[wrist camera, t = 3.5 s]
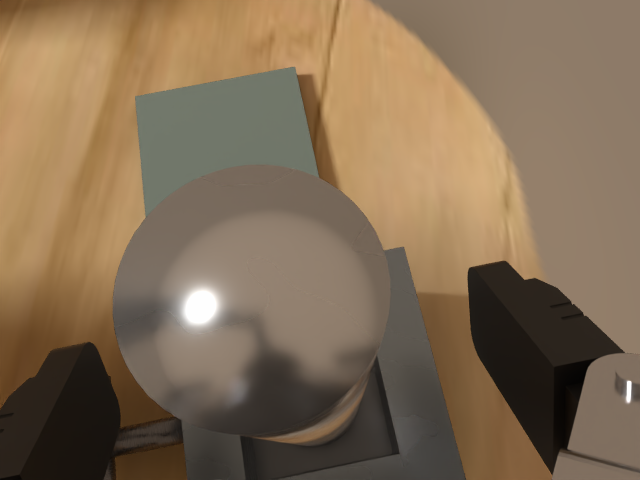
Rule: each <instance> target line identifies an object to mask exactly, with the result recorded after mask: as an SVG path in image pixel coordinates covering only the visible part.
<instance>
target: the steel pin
mask: <svg viewBox="0 0 640 480" xmlns="http://www.w3.org/2000/svg"><path fill="white" fill-rule="evenodd" d="M390 297H391V291H390V275H389V270H388V264H387V260H386V256H385V253H384V250H383V247H382V244H381V242H380V240H379V238H378V236H377V234H376V232H375V230H374V228H373V227H372V225H371V224H370V222H369V221H368V219H367V217H366V216H365V215H364V213H363V212H362V211H361V210H360V209H359V208H358V207H357V205H356V204H355V203H354V202H353V201H352V200H350V199H349V198H348V197H347V196H346V195H345V194H344V193H342V192H341V191H340V190H338V189H337V188H335V187H334V186H332V185H331V184H329V183H328V182H326V181H324V180H322V179H320V178H318V177H316V176H314V175H311V174H309V173H306V172H303V171H300V170H297V169H292V168H288V167H284V166H276V165H266V164H262V165H243V166H235V167H230V168H226V169H222V170H218V171H215V172H212V173H209V174H207V175H204V176H201V177H199V178H197V179H195V180H193V181H191V182H189V183H187V184H185V185H184V186H182V187H181V188H179V189H178V190H176V191H175V192H173V193H172V194H170V195H169V196H168V197H167V198H166V199H164V200H163V201H162V202H161V203H160V204H158V205H157V206H156V207H155V208H154V210H153V211H152V212H151V213H150V214H149V215H148V216H147V217H146V218H145V219H144V221H143V222H142V224H141V225H140V226H139V228H138V229H137V230H136V232H135V233H134V235H133V237H132V239H131V240H130V242H129V244H128V246H127V248H126V250H125V252H124V255H123V257H122V260H121V262H120V265H119V269H118V272H117V276H116V280H115V286H114V293H113V320H114V328H115V334H116V338H117V341H118V345H119V349H120V351H121V354H122V356H123V358H124V361H125V363H126V365H127V367H128V369H129V370H130V372H131V374H132V375H133V377H134V378H135V380H136V382H137V383H138V384H139V385H140V386H141V388H142V389H143V390H144V391H145V392H146V394H147V395H148V396H149V397H150V398H152V399H153V400H154V401H155V402H156V403H157V404H158V405H159V406H161V407H162V408H163V409H165V410H166V411H168V412H169V413H171V414H172V415H174V416H175V417H177V418H179V419H181V420H183V421H185V422H187V423H189V424H192V425H194V426H196V427H200V428H203V429H206V430H210V431H213V432H219V433H225V434H232V435H238V436H245V437H251V438H258V439H264V440H270V441H277V442H283V443H290V444H296V445H303V446H310V447H317V446H323V445H326V444H329V443H332V442H334V441H335V440H337V439H339V438H340V437H341V436H342V435H344V434H345V433H346V432H347V430H348V429H349V428H350V426H351V425H352V423H353V421H354V419H355V417H356V414H357V411H358V409H359V406H360V403H361V400H362V397H363V394H364V391H365V388H366V385H367V382H368V379H369V376H370V373H371V370H372V368H373V365H374V362H375V359H376V356H377V353H378V350H379V347H380V344H381V341H382V338H383V335H384V332H385V329H386V324H387V320H388V316H389V308H390Z"/></svg>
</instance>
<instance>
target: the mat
mask: <svg viewBox="0 0 640 480" xmlns="http://www.w3.org/2000/svg"><path fill="white" fill-rule="evenodd" d="M135 101H136V112H137V123H138V135H139V146H140V158H141V169H142V180H143V192H144V203H145V215H146V217H147V216H148V215H149V214H150V213H151V212H152V211H153V210H154V208H155V207H156V206H157V205H158V204H160V203H161V202H162V201H163V200H164V199H166V198H167V197H168V196H169V195H170V194H172V193H173V192H175V191H176V190H178V189H179V188H181V187H182V186H184V185H185V184H187V183H189V182H191V181H193V180H195V179H197V178H199V177H201V176H204V175H207V174H209V173H212V172H215V171H218V170H222V169H226V168H230V167H235V166H243V165H262V164H266V165H276V166H284V167H288V168H292V169H297V170H300V171H303V172H306V173H309V174H311V175H314V176H316V177H318V178H319V174H318V170H317V165H316V161H315V156H314V151H313V147H312V142H311V138H310V133H309V129H308V124H307V119H306V115H305V110H304V106H303V101H302V97H301V92H300V87H299V83H298V78H297V74H296V69H295V67H290V68H285V69H279V70H274V71H269V72H263V73H258V74H253V75H247V76H242V77H237V78H231V79H226V80H220V81H215V82H210V83H204V84H199V85H194V86H188V87H183V88H178V89H172V90H167V91H161V92H156V93H151V94H145V95H140V96H135Z"/></svg>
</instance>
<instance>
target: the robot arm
mask: <svg viewBox="0 0 640 480" xmlns="http://www.w3.org/2000/svg"><path fill="white" fill-rule="evenodd" d="M468 292H469V308H470V324H471V334H472V339H473V343H474V346H475V349H476V352H477V354H478V356H479V358H480V360H481V362H482V363H483V365H484V366H485V368H486V370H487V371H488V373H489V374H490V376H491V378H492V379H493V381H494V382H495V384H496V386H497V387H498V389H499V390H500V392H501V394H502V395H503V397H504V398H505V400H506V402H507V403H508V405H509V406H510V408H511V410H512V411H513V413H514V414H515V416H516V418H517V419H518V421H519V422H520V424H521V426H522V427H523V429H524V430H525V432H526V434H527V435H528V437H529V439H530V440H531V442H532V443H533V445H534V447H535V448H536V450H537V451H538V453H539V455H540V456H541V458H542V459H543V461H544V463H545V464H546V466H547V467H548V469H549V471H550V472H551V474H552V475H553V476H552V480H640V355H639V354H631V353H625V352H623V350H622V349H620V348H619V347H618V346H617V345H616V344H615V343H614V342H613V341H612V340H611V339H610V338H609V337H608V336H607V335H606V334H605V333H604V332H603V331H602V330H601V329H599V328H598V327H597V326H596V325H595V324H594V323H593V322H592V321H591V320H590V319H589V318H588V317H587V316H584V315H583V312H582V311H581V310H580V309H578V308H577V307H576V306H575V305H574V304H573V305H572V303H571V301H570V300H569V299H568V298H567V297H566V296H565V295H564V294H563V293H562V292H561V291H560V290H559V289H558V288H556V287H554V286H552V285H549V284H547V283H545V282H543V281H540V280H538V279H536V278H533V279H528V280H524V279H523V278H522V277H521V276H520V275H519V274H518V273H517V272H516V271H515V270H514V269H513V268H512V267H511V265H510V264H509V263H507V262H506V261H500V262H495V263H489V264H484V265H479V266H474V267H470V268H469V270H468ZM119 429H120V408H119V403H118V400H117V397H116V395H115V392H114V390H113V387H112V385H111V382H110V380H109V377H108V375H107V372H106V370H105V367H104V365H103V362H102V360H101V357H100V355H99V352H98V350H97V348H96V347H95V345H94V344H93V343H91V342H87V343H82V344H77V345H72V346H67V347H62V348H57V349H53V350H52V351H50V353H49V354H48V356H47V358H46V359H45V361H44V363H43V365H42V366H41V368H40V370H39V371H38V373H37V375H36V376H35V377H33V378H29V379H28V380H27V381H26V382H24V383H23V384H22V385H21V386H20V387H19V388H18V389H17V390H16V391H15V392H13V393H12V394H11V395H10V396H9V397H8V399H7V400H6V402H5V403H4V405H3V407H2V408H1V410H0V480H103V479H104V476H105V473H106V470H107V467H108V464H109V461H110V458H111V454H112V451H113V448H114V445H115V442H116V439H117V436H118V433H119Z"/></svg>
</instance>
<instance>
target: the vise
mask: <svg viewBox="0 0 640 480" xmlns="http://www.w3.org/2000/svg"><path fill="white" fill-rule="evenodd" d="M384 253H385V256H386V260H387V264H388V270H389V275H390V291H391V297H390V308H389V316H388V320H387V324H386V329H385V332H384V335H383V338H382V341H381V344H380V347H379V350H378V353H377V356H376V359H375V362H374V365H373V368H372V370H371V373H370V376H369V379H368V382H367V385H366V388H365V391H364V394H363V397H362V400H361V403H360V406H359V409H358V411H357V414H356V417H355V419H354V421H353V423H352V425H351V426H350V428H349V429H348V430H347V432H346V433H345V434H344V435H342V436H341V437H340V438H339V439H337V440H335V441H334V442H332V443H329V444H326V445H323V446H317V447H310V446H303V445H296V444H290V443H283V442H277V441H270V440H264V439H258V438H251V437H245V436H238V435H232V434H225V433H219V432H213V431H210V430H206V429H203V428H200V427H196V426H194V425H192V424H189V423H187V422H185V421H183V420H181V419H179V418H177V417H170V418H165V419H160V420H155V421H151V422H146V423H141V424H136V425H131V426H126V427H121V428H120V429H119V433H118V436H117V439H116V442H115V445H114V448H113V451H112V454H111V458H110V461H109V464H108V467H107V470H106V473H105V476H104V479H103V480H116V465H115V457H119V456H124V455H129V454H133V453H138V452H143V451H148V450H153V449H158V448H162V447H167V446H172V445H177V444H182V443H184V451H185V461H186V471H187V480H466V478H465V474H464V470H463V466H462V463H461V459H460V455H459V452H458V448H457V444H456V440H455V437H454V433H453V429H452V425H451V422H450V418H449V414H448V410H447V407H446V403H445V399H444V395H443V392H442V388H441V384H440V381H439V377H438V373H437V369H436V366H435V362H434V358H433V354H432V351H431V347H430V343H429V339H428V336H427V332H426V328H425V324H424V321H423V317H422V313H421V310H420V306H419V302H418V298H417V295H416V291H415V287H414V283H413V280H412V276H411V272H410V268H409V265H408V261H407V257H406V253H405V250H404V247H400V248H395V249H390V250H385V251H384ZM108 377H109V380H110V382H111V376H108Z"/></svg>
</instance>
